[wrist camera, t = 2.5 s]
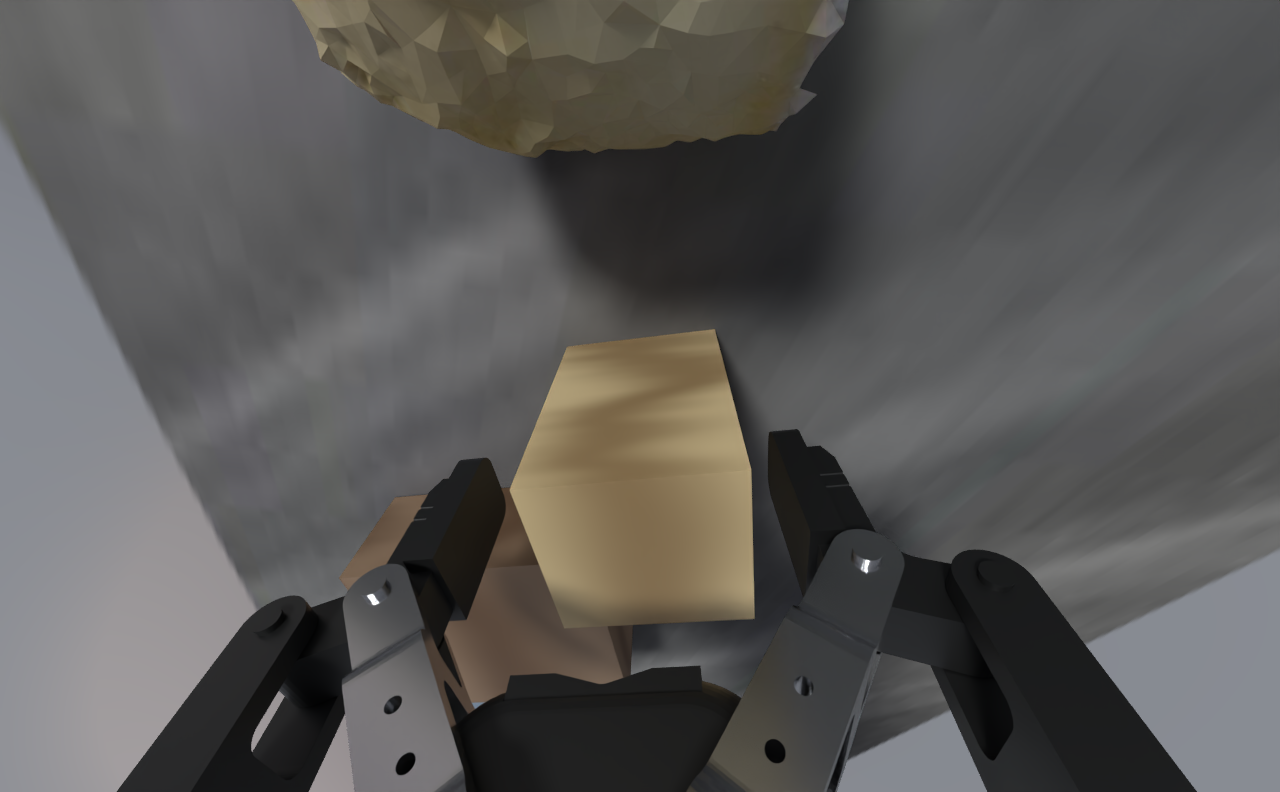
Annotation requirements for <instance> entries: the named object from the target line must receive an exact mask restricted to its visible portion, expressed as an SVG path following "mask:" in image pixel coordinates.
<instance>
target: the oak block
mask: <svg viewBox="0 0 1280 792" xmlns="http://www.w3.org/2000/svg"><path fill="white" fill-rule="evenodd" d="M510 493H511V495H512V498H513V500H514V503H515V505H516V508H517V510H518V513H519V515H520V518H521V520H522V523H523V525H524V528H525V530H526V533H527V536H528V538H529V541H530V543H531V546H532V548H533V551H534V553H535V556H536V558H537V561H538V563H539V566H540V568H541V571H542V573H543V576H544V578H545V581H546V583H547V586H548V588H549V591H550V594H551V596H552V599H553V601H554V604H555V606H556V609H557V611H558V614H559V616H560V619H561V621H562V624H563V626H564V628H581V627H601V626H621V625H641V624H661V623H681V622H701V621H721V620H742V619H755V613H754V569H753V524H752V479H751V467H750V463H749V459H748V455H747V451H746V447H745V444H744V440H743V436H742V432H741V428H740V424H739V421H738V417H737V413H736V409H735V405H734V401H733V398H732V394H731V390H730V386H729V382H728V378H727V374H726V371H725V367H724V363H723V359H722V355H721V351H720V348H719V344H718V340H717V336H716V332H715V329H712V330H704V331H695V332H687V333H679V334H670V335H662V336H653V337H645V338H637V339H628V340H620V341H611V342H603V343H595V344H586V345H578V346H569V347H567V349H566V351H565V354H564V356H563V359H562V361H561V364H560V366H559V369H558V371H557V373H556V376H555V378H554V381H553V383H552V386H551V388H550V391H549V393H548V396H547V398H546V401H545V403H544V406H543V408H542V411H541V413H540V416H539V418H538V421H537V423H536V426H535V428H534V431H533V433H532V436H531V438H530V441H529V443H528V445H527V448H526V450H525V453H524V455H523V458H522V460H521V463H520V465H519V468H518V470H517V473H516V475H515V478H514V480H513V483H512V485H511V488H510Z"/></svg>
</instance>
